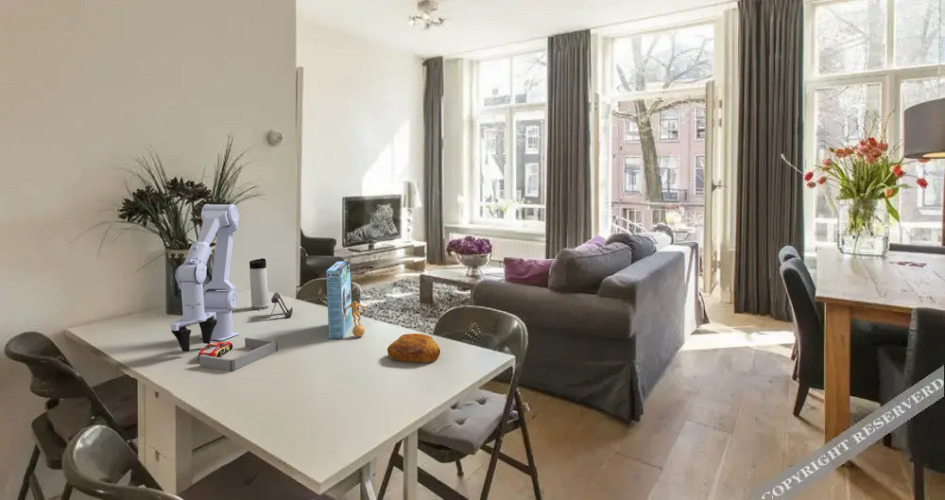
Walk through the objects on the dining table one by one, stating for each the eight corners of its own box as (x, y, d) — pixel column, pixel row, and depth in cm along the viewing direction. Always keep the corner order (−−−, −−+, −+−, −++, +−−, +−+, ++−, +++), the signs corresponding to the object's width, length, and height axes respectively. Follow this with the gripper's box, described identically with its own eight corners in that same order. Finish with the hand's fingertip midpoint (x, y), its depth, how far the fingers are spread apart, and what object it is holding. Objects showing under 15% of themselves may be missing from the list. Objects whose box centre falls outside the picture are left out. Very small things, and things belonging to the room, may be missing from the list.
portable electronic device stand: (291, 318, 191) (290, 296, 189) (268, 319, 188) (267, 298, 187) (292, 312, 199) (291, 291, 198) (271, 313, 197) (270, 292, 196)
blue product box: (343, 338, 167) (341, 270, 163) (327, 339, 166) (325, 270, 163) (352, 322, 186) (350, 261, 183) (338, 322, 185) (336, 261, 182)
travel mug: (272, 306, 207) (270, 258, 205) (260, 310, 201) (258, 261, 199) (260, 305, 210) (257, 257, 207) (248, 309, 203) (245, 260, 201)
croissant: (429, 375, 142) (432, 348, 140) (380, 361, 146) (382, 335, 144) (447, 356, 156) (450, 332, 154) (401, 344, 160) (404, 321, 158)
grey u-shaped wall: (200, 366, 141) (199, 356, 141) (247, 346, 158) (247, 337, 158) (232, 371, 138) (231, 360, 137) (277, 350, 154) (277, 341, 154)
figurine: (349, 340, 164) (348, 304, 163) (341, 336, 169) (340, 301, 167) (372, 335, 170) (371, 301, 168) (364, 331, 174) (363, 297, 173)
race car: (219, 348, 158) (218, 335, 157) (236, 348, 157) (235, 336, 157) (194, 363, 145) (193, 349, 144) (212, 363, 144) (212, 350, 144)
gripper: (182, 310, 143) (186, 356, 145) (222, 299, 157) (225, 341, 159) (163, 308, 145) (167, 353, 147) (205, 297, 159) (208, 338, 161)
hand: (196, 347), depth 153 cm, fingers open, 7 cm apart
